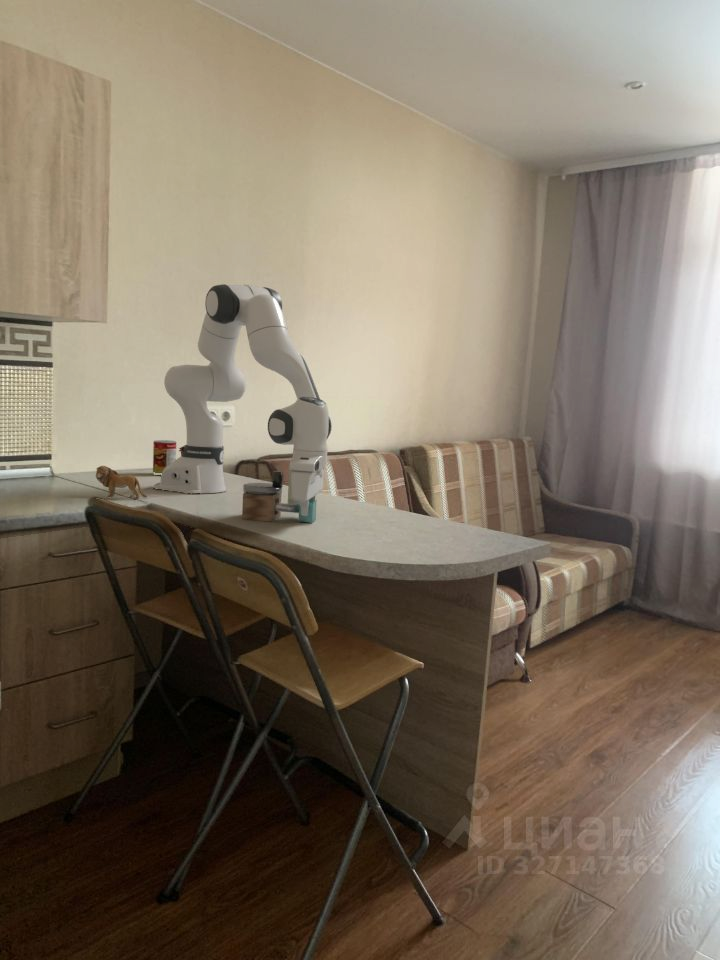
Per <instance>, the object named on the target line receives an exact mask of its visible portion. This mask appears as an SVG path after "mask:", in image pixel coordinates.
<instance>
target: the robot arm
mask: <svg viewBox="0 0 720 960" xmlns="http://www.w3.org/2000/svg"><path fill="white" fill-rule="evenodd" d="M205 311H206V313H205V314H204V318H203V321H202V322H203V323H202V325H201V330H200V333H199V338H198V341H197V348H198V351H199V354H200V355H201V356H202V357H203V358H205V359H206V360H207V361H209V364H208V365H199V364H198V365H197V364H182V365H181V364H180V365H173V366H171V367H169V369H168V370H167V372H166V373H165V376H164V379H163V380H164V382H163V383H164V389H165V391H166V393H167V394H168V396H170V398H172V399H173V400H174V401H175V402H176V403H177V404H178V405H179V407H180V408H181V410H182V413H183V416H184V419H185V426H186V427H185V428H186V444H185V445H183V446H180V447H178V449H179V450H178V452H180V456H179V457H178V458H176V460H175V461H174V462H172V463H171V464H170V465H168V466H167V467H166V468H165V469H164V470H163V472H162V476H160V482H157V483H155V484H154V485H153V488H157V489H163V490H162V491H164V490H170V491H169V492H172V491H178V492H177V493H180V492H185V493H184V494H188V493H200V494H214V493H222V492H226V491H227V487H226V483H225V478H224V467H223V464H224V460H225V452H224V449H225V447H224V446H223V443H224V442H223V439H224V423H223V421H222V420H221V418H220V417H219V416H217V415H216V414H214V413H213V412H211V411H210V410H209V408H208V405H207V402H215V403H216V402H219V403H220V402H221V403H224V402H225V403H226V402H232V401H238V400H240V399H241V398H242V397H243V396H244V395H245V392H246V390H247V389H246V387H247V381H246V377H245V375H244V374H243V372H242V371H241V370H240V369H239V368H238V367H237V365H236V362H235V355H236V348H237V344H238V340H239V337H240V334H241V329H242V326H243V327H244V326H245V329H246V330H245V331H246V334H247V338H248V339H247V340H248V344H249V349H250V352H251V355H252V357H253V358H254V359H255V361H256V362H257V363H259V364H260V365H261V366H262V367H263V368H266V369H267V370H271V371H272V372H275V373H277V374H279V375H280V376H282V377H283V378H285V379H286V380H287V381H288V382H289V383H290V385H292V388H293V391H294V393H295V396H296V400H295V402H294V403H292V404H290V405H289V406H285V407H282V408H279V409H275V410H274V411H273V412H272V413H271V414H270V415H269V417H268V420H267V432H268V435H269V437H270V439H271V440H272V441H273V442H274V443H275V444H278V445H282V446H286V445H288V446H289V445H293V448H292V459H290V462H289V465H290V470H293V471H292V474H291V493H292V499H293V501H299V502H300V506H301V515H302V516H307V515H308V514H309V500H317V499H316V498H317V495H318V494H319V493H321V492H323V489H324V470H326V469H327V467H328V466H327V465H328V444H327V440H328V439H329V437H330V434H331V432H332V421H331V418H330V415H329V408H328V405H327V404H328V403H326V402H325V401H324V400H323V399H321V398H320V395H319V393H318V389H317V387H316V384H315V382H314V380H313V379H314V378H313V376H312V373H311V371H310V369H309V366H308V364H307V362H306V360H305V358H304V357H303V355H301V354H300V353H299V351H298V350H297V348H296V346H295V345H294V342H293V340H292V337H291V336H290V333H289V329H288V325H287V320H286V317H285V315H284V313H283V301H282V298H281V296H280V293H279V292H278V291H277V290H275V289H272V288H268V287H264V286H263V287H260V286H257V285H251V284H250V285H249V284H243V285H241V284H230V285H229V284H224V283H223V284H217V285H213V286H212V287H210V288H209V290H208V292H207V293H206V296H205Z"/></svg>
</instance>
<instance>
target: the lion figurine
mask: <svg viewBox="0 0 720 960" xmlns="http://www.w3.org/2000/svg"><path fill="white" fill-rule="evenodd" d="M95 478H96V479H97V481H98V482H99V483H100V484H102V485H103V487H106V488H108V492H109V495H107V498H108V497H112V498H113V497H114V496H115V495H116V488H119V489H124V488H127V487H128V489H129V490H130V491H131V492H132V494H131V495H129V497H130V498H133V499H134V500H135V499H137V500H139V499H140V496H142V497H143V498H147V495H145V494H144V493H143V492H142V489H141V486H140V485H141V484H140V482H139V480H138V478H137V477H136V476H135V475H131V474H129V475H121V474H119V473H118V472H117V471H116V470H114V469H111V468H110V467H108V466H106V465H100V466H98V467H96V472H95ZM137 488H138V489H137ZM139 493H140V494H139Z"/></svg>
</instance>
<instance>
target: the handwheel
mask: <svg viewBox="0 0 720 960" xmlns="http://www.w3.org/2000/svg"><path fill="white" fill-rule="evenodd" d="M283 477H284V471H282V470H281V471H280V470H275V471H274V470H273V471H272V482H271V483H269V482H249V483H244V484H243V485H242V486H243V487H242V489H243V490H242V492H243V493H249V494H257V495H275V494H280V493H281V494H282V492H283V481H284V480H283V479H284V478H283Z"/></svg>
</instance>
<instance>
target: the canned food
mask: <svg viewBox="0 0 720 960" xmlns="http://www.w3.org/2000/svg"><path fill="white" fill-rule="evenodd" d="M152 449H153V450H152V451H153V453H152V455H153V456H152V459H153V460H152V465H153V466H152V473H153V472H155V473H162V472H163V470H164V469H165V468H166V467H167V466H168V465H170V464H171V463H172V462H174V461H175V460H177V441H176V440H169V439H168V440H166V439H165V440H164V439H162V440H161V439H160V440H159V439H157V440H156V439H155V440H153V447H152Z"/></svg>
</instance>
